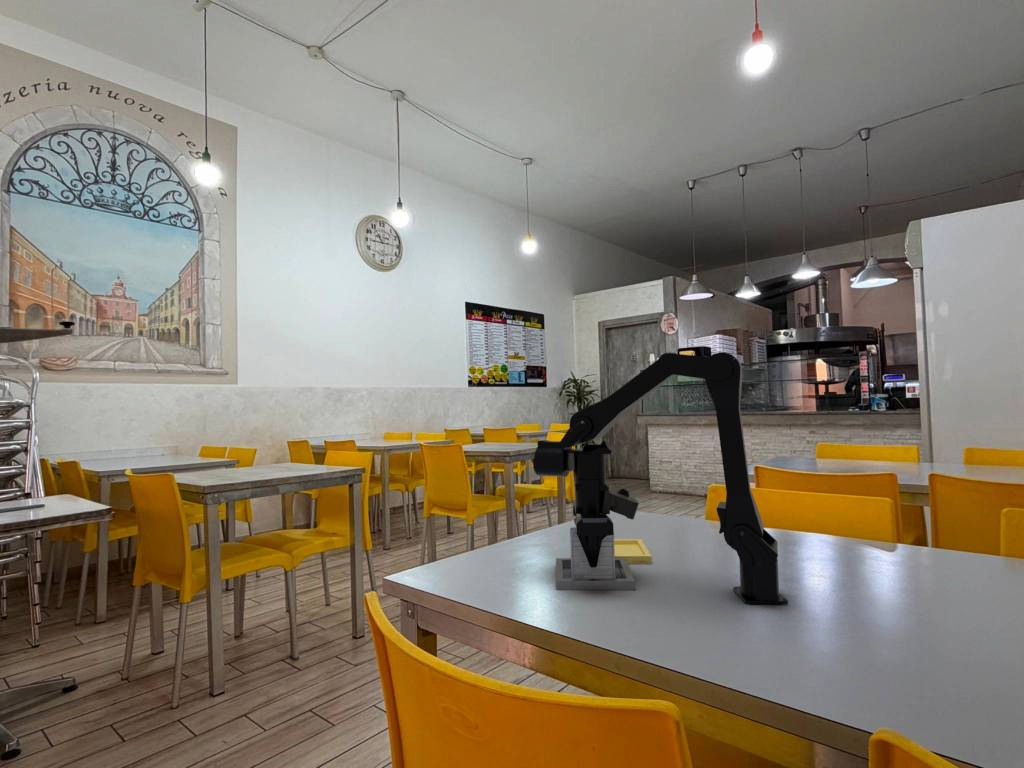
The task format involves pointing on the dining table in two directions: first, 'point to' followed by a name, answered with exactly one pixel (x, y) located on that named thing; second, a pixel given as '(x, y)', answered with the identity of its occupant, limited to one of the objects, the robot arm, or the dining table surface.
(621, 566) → the socket frame
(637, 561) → the tray
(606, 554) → the medicine box
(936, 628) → the dining table surface
